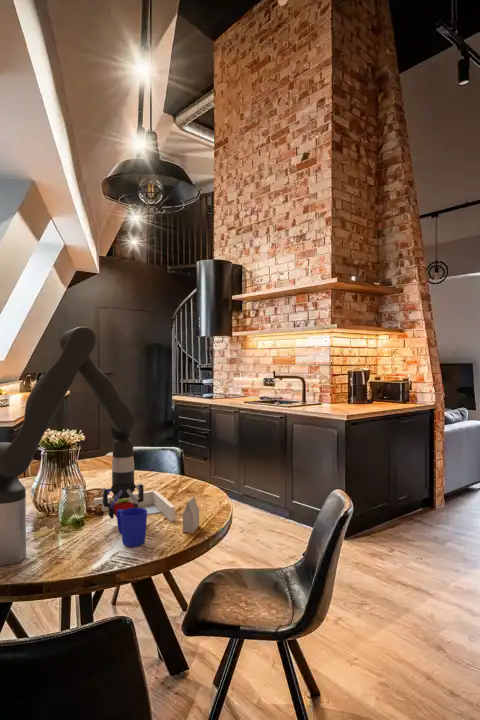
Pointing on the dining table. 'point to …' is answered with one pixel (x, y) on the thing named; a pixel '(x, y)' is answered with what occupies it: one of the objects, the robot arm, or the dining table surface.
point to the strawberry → (122, 505)
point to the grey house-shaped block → (191, 516)
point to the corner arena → (148, 504)
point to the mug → (132, 526)
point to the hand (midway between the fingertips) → (123, 516)
